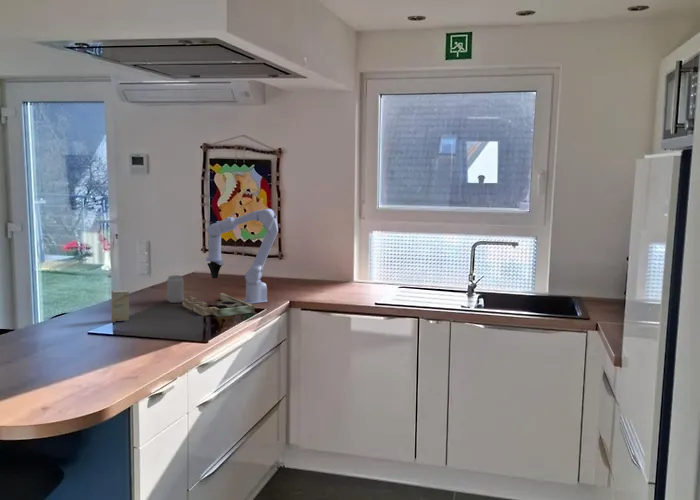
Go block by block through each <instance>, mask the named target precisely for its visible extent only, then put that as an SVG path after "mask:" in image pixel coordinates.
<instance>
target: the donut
mask: <svg viewBox="0 0 700 500" xmlns="http://www.w3.org/2000/svg"><path fill="white" fill-rule="evenodd" d="M241 306H242V304H241V303H240V302H237V301H223V300H221V301H219V302H217V303H216V304H215V306H214V307H216V308H218V309H224V308H232V307H241Z"/></svg>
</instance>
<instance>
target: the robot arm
mask: <svg viewBox="0 0 700 500" xmlns="http://www.w3.org/2000/svg"><path fill="white" fill-rule="evenodd" d="M277 219H278V216H277V214H276V212H275V211H274V210H273V209H271V208H268V207H267V208H265V209H257V210H255V211H251V212H249V213H246V214H243V215H242V216H239V217H236V218H234V217H232V216H231V217H230V216H227V217H225V219H223V220H220V221H219V220H217V221H216V222H215V223H211V224H209V225H208V226H207V227H206V228H207V229H206V232H207V234H208V256H206V258H205V260H206V262H208V263H207V266H208V268H209V270H210V275H211V278H212V279H218V277H219V273H220V270H221V268H222V266H223V265H224V263H225V262H224V260H223V259H222V234H226V233H229V232H231V231H233V230H235V229H237V227H238V226H239V225H242V224H244V223H248V222H251V221H255V222H258V221H259V222H260V223H261V225H263V226H264V229H265V230H266V232H265V234H264V237H263V239H262V242H261V245H260V247H259V249H258V252H257V254H256V256H255V258H254V260H253V262H252V264H251V266H250V268H249V270H248V271H246V273H245V274H244V279H245V299H242V300H241V301H244V302H246V303H249V304H252V305H254V304H260V303H268V287H267V286H268V285H267V283H265V282H263V281H262V280H261V278H263V270H264V265H265V263H266V261H267V258H268V255H269V253H270V251H271V249H272V247H273V244H274V241H275V240H276V238H277V235H278V233H279V226H278V225H279V224H278V221H277Z"/></svg>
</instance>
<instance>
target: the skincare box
mask: <svg viewBox="0 0 700 500" xmlns="http://www.w3.org/2000/svg"><path fill="white" fill-rule="evenodd" d="M129 308H130V292H129V290H128V289H117V290H115V289H113V290H111V321H112V322H113V323H116V322H115V321H121V320H129V321H130V319H129V318H130V309H129Z"/></svg>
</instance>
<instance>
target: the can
mask: <svg viewBox="0 0 700 500" xmlns="http://www.w3.org/2000/svg"><path fill="white" fill-rule="evenodd" d="M166 290H167V291H166V299H167V302H168V303H170V304H179V303H183V299H185V279H184V277H183V275H179V274H178V275H177V274H176V275H175V274H174V275H173V274H172V275H169V276H168V278H167V279H166Z"/></svg>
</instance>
